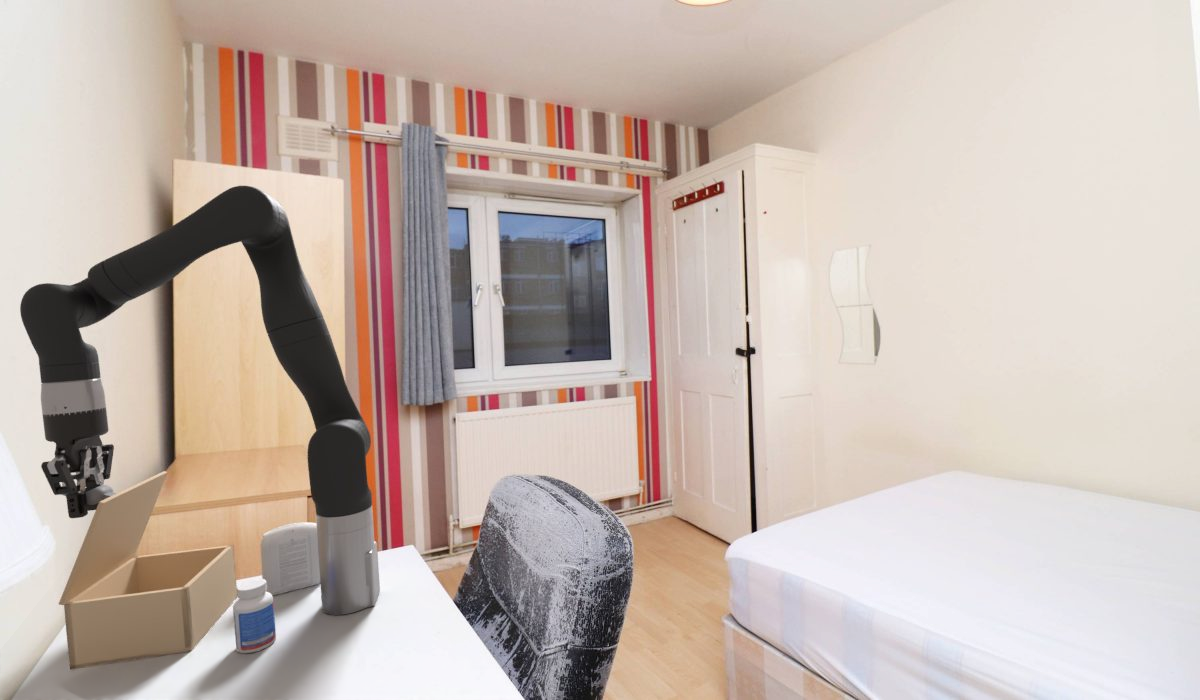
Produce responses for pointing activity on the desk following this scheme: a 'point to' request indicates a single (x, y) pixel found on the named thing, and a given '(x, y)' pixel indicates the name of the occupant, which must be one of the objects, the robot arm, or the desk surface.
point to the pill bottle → (254, 617)
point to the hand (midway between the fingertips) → (86, 512)
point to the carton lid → (112, 532)
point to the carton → (150, 606)
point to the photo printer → (290, 557)
